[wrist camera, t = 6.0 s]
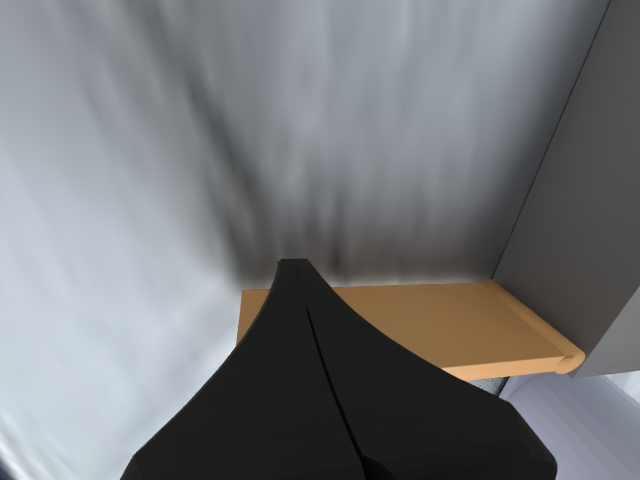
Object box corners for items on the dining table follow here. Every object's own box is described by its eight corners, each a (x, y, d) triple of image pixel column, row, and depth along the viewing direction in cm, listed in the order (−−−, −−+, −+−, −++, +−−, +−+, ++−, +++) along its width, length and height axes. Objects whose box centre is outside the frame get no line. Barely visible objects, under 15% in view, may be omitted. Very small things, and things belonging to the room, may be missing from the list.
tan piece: (500, 278, 14) (591, 349, 10) (488, 305, 15) (568, 380, 11) (242, 286, 12) (230, 383, 8) (243, 317, 12) (233, 420, 8)
